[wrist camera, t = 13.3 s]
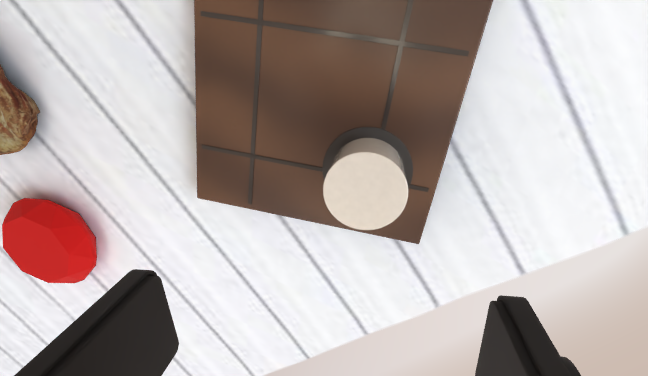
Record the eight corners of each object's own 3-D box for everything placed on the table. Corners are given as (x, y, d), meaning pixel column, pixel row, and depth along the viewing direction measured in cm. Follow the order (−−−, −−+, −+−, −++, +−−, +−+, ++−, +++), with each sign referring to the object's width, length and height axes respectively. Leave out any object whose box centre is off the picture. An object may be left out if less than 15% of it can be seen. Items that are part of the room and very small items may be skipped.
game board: (205, -64, 21) (191, -73, 19) (495, -28, 19) (504, -35, 18) (206, 191, 28) (196, 198, 27) (417, 234, 26) (419, 245, 25)
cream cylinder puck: (337, 131, 23) (329, 144, 19) (412, 145, 22) (418, 161, 19) (326, 198, 25) (317, 221, 21) (395, 212, 24) (397, 237, 21)
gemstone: (91, 196, 30) (62, 210, 28) (115, 276, 34) (92, 295, 31) (10, 190, 32) (-26, 203, 29) (41, 267, 35) (12, 285, 32)
